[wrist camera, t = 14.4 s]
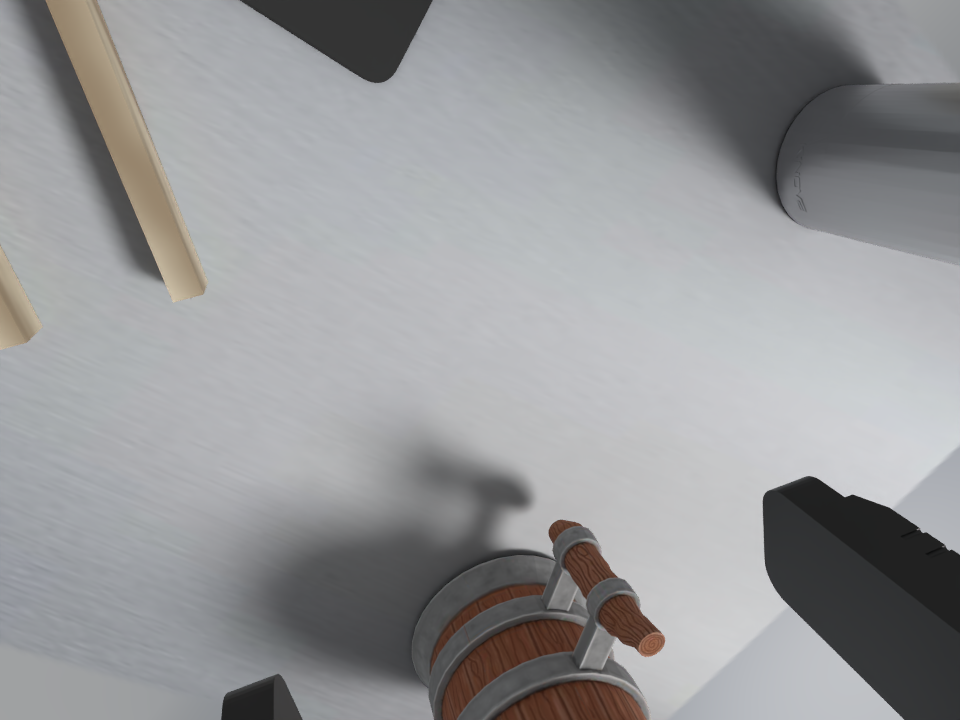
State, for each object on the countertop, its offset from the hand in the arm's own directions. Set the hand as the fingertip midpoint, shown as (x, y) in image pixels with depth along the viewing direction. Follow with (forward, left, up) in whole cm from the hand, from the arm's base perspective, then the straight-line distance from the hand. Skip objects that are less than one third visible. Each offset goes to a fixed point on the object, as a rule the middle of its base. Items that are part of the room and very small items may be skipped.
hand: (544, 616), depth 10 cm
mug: (-4, +29, -30) cm, 42 cm away
